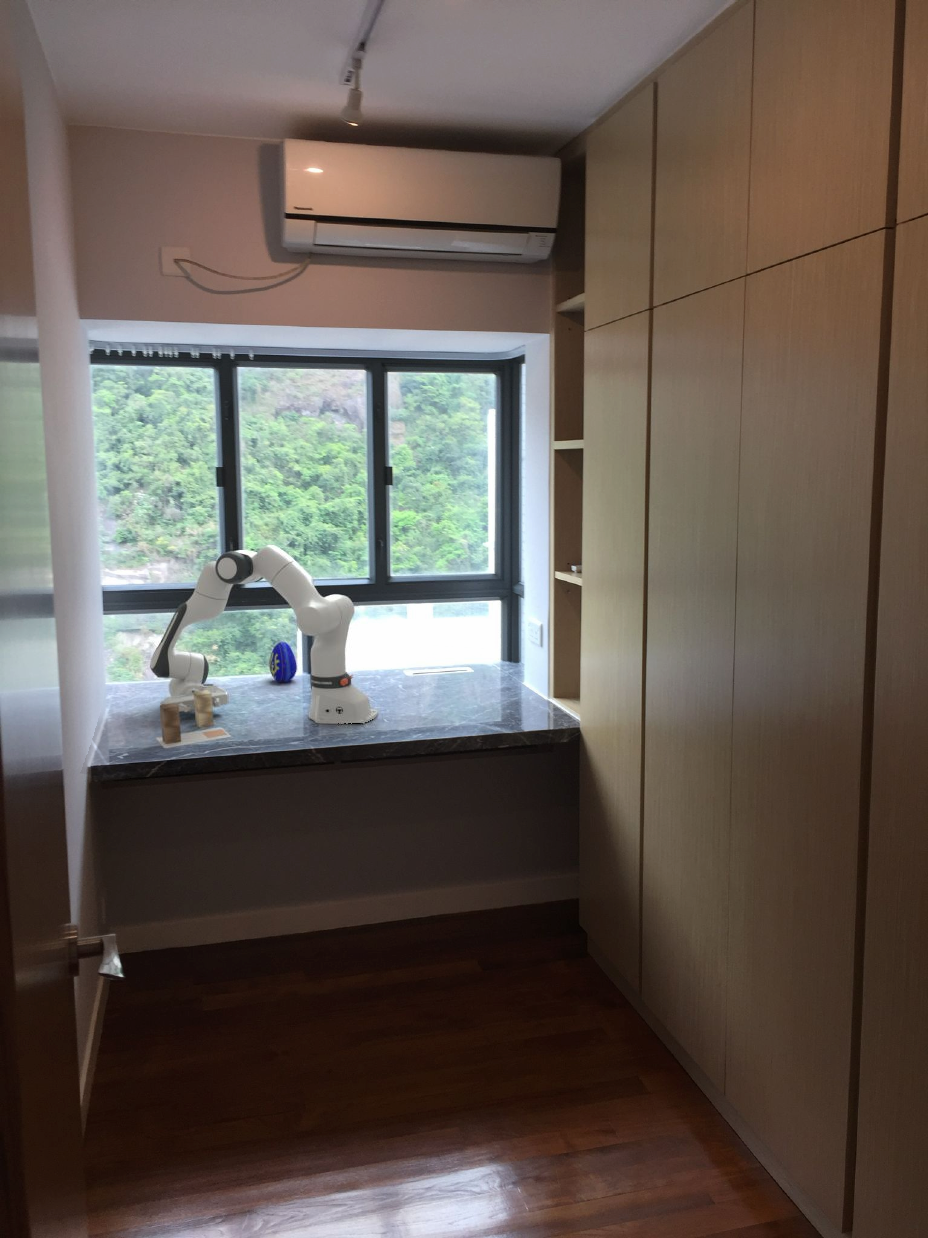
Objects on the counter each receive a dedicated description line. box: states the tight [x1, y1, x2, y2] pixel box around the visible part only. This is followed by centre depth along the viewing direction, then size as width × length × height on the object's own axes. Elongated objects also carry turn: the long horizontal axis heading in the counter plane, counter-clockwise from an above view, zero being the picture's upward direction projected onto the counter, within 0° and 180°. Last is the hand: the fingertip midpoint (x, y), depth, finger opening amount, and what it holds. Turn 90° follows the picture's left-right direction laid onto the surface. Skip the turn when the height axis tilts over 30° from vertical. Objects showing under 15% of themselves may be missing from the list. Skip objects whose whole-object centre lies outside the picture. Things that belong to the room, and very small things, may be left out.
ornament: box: [268, 641, 298, 683], centre depth 350 cm, size 11×9×15 cm
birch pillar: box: [194, 690, 215, 728], centre depth 298 cm, size 4×4×11 cm
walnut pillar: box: [159, 703, 182, 744], centre depth 282 cm, size 4×4×11 cm
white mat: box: [155, 726, 232, 749], centre depth 286 cm, size 20×11×1 cm, turn 121°
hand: (202, 707), depth 299 cm, fingers open, 8 cm apart
